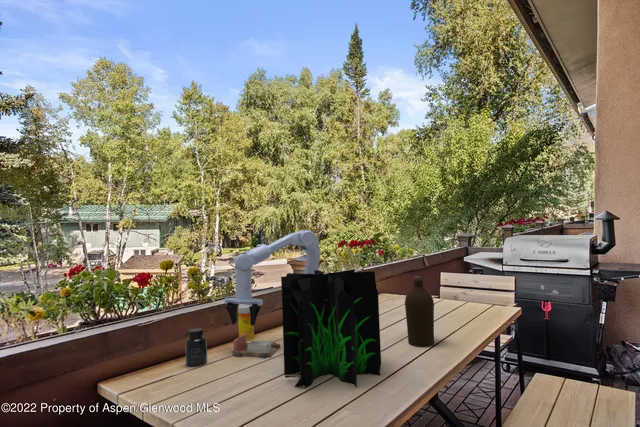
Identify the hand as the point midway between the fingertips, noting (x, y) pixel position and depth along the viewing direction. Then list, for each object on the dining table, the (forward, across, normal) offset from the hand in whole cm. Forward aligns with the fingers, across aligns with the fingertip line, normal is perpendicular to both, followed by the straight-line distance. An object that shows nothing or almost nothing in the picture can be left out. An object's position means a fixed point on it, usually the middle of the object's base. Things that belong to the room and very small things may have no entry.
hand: (243, 324), depth 136 cm
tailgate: (+10, -1, 0) cm, 10 cm away
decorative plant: (+10, +36, -10) cm, 39 cm away
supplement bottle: (+11, -10, -14) cm, 21 cm away
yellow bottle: (+11, -6, +15) cm, 20 cm away
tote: (+9, +6, 0) cm, 11 cm away
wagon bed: (+10, +5, 0) cm, 12 cm away
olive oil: (+9, +62, +23) cm, 67 cm away
